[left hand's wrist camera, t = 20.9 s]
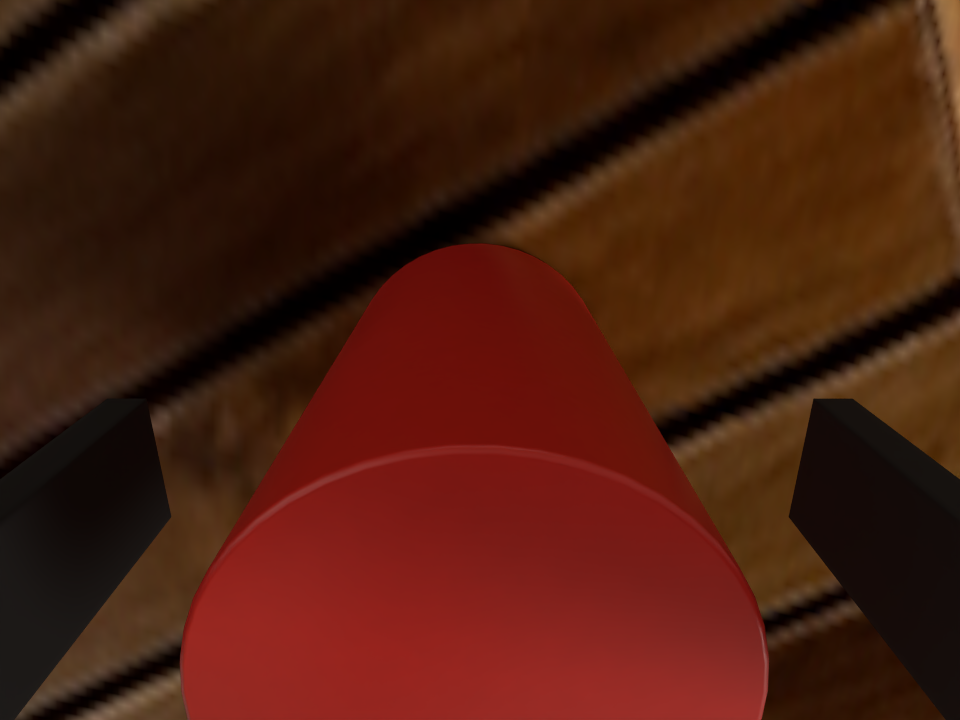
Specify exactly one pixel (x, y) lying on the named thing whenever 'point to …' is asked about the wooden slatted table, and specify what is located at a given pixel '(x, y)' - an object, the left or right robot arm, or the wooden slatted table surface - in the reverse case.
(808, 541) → the left robot arm
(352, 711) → the canister
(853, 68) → the wooden slatted table surface
